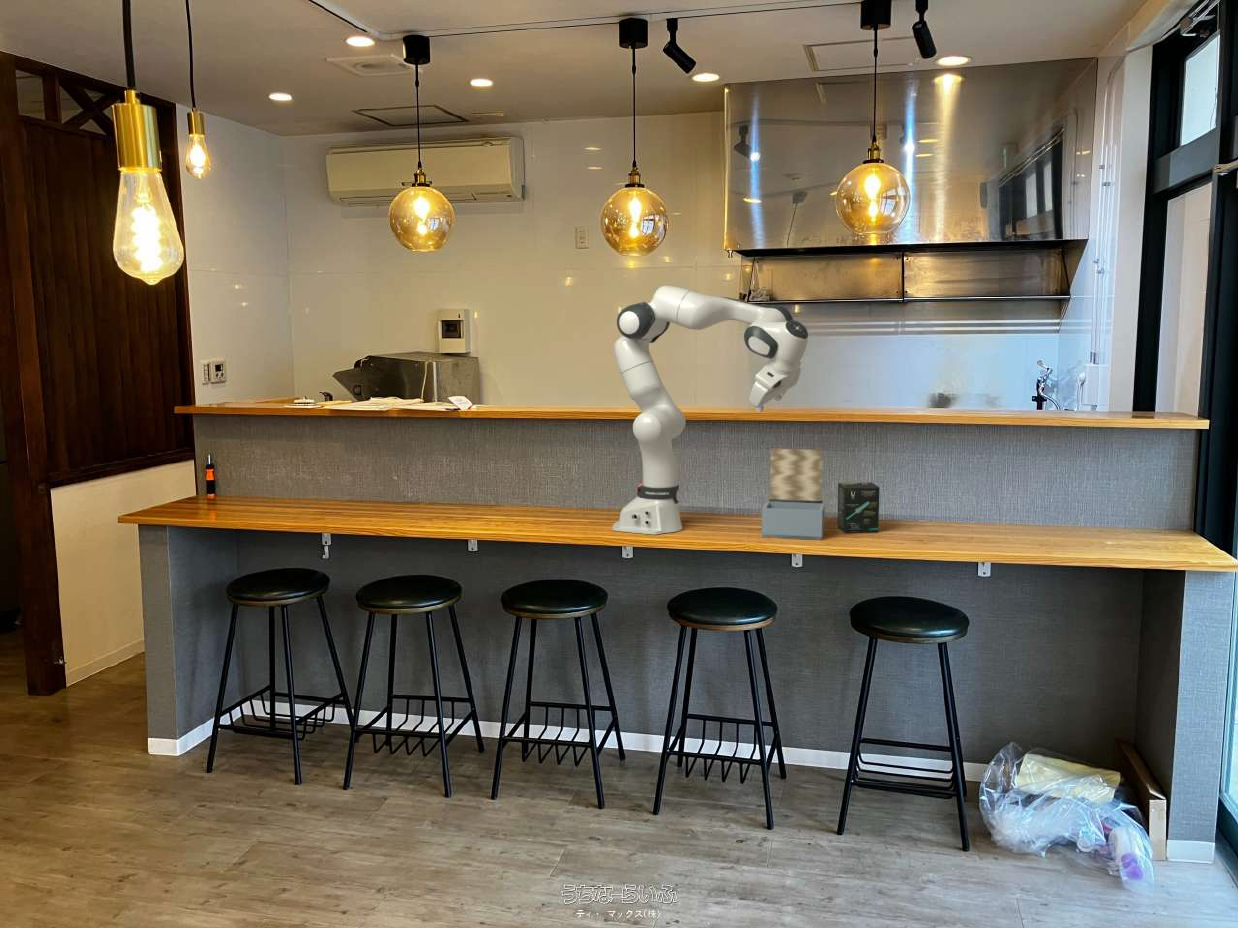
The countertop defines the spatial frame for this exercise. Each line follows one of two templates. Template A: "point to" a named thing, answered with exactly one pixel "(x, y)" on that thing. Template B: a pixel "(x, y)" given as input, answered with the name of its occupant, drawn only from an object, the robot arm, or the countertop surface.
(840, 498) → the tampon box
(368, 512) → the countertop surface
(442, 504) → the countertop surface
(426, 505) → the countertop surface
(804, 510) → the crate
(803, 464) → the lid flap
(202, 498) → the countertop surface
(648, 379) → the robot arm
